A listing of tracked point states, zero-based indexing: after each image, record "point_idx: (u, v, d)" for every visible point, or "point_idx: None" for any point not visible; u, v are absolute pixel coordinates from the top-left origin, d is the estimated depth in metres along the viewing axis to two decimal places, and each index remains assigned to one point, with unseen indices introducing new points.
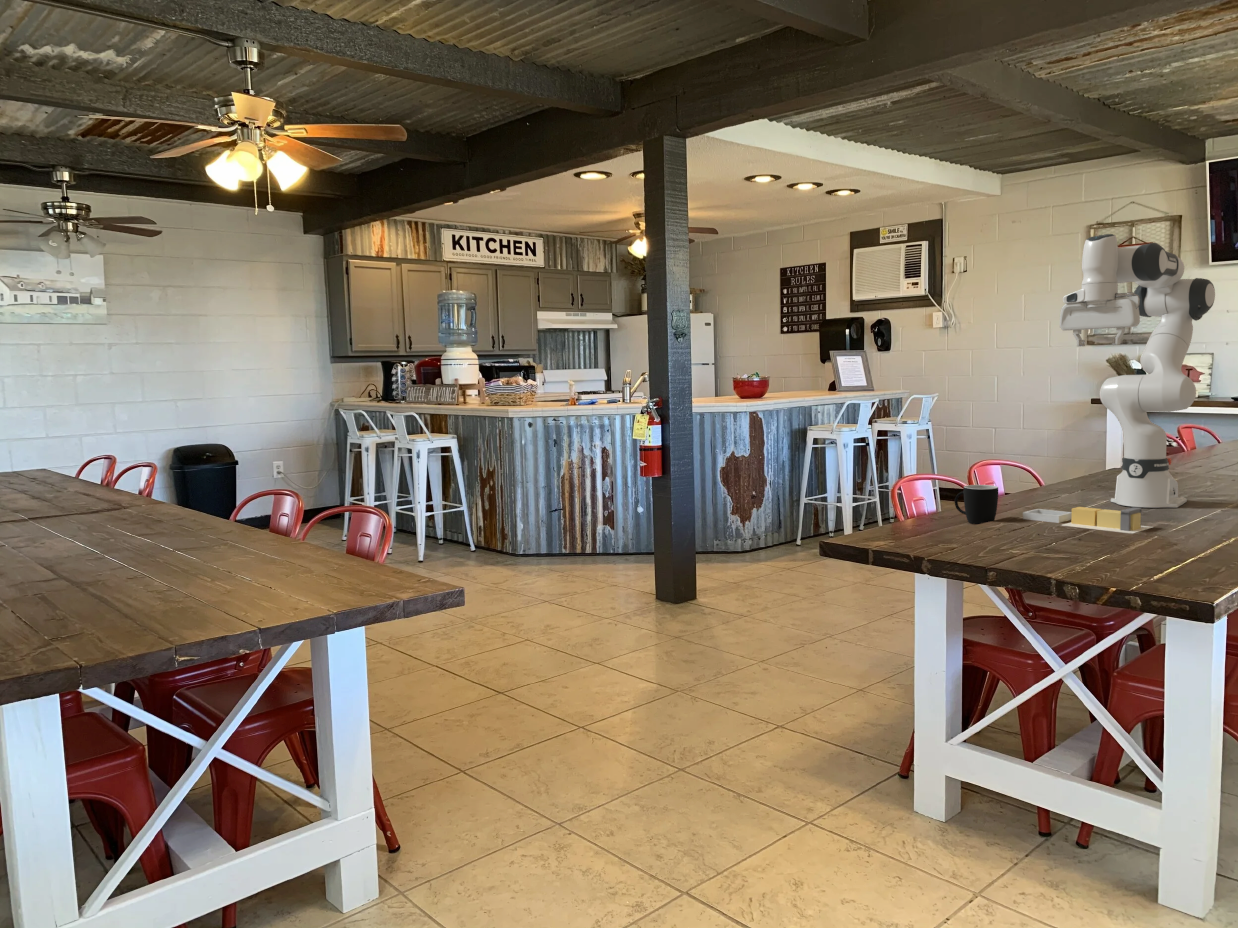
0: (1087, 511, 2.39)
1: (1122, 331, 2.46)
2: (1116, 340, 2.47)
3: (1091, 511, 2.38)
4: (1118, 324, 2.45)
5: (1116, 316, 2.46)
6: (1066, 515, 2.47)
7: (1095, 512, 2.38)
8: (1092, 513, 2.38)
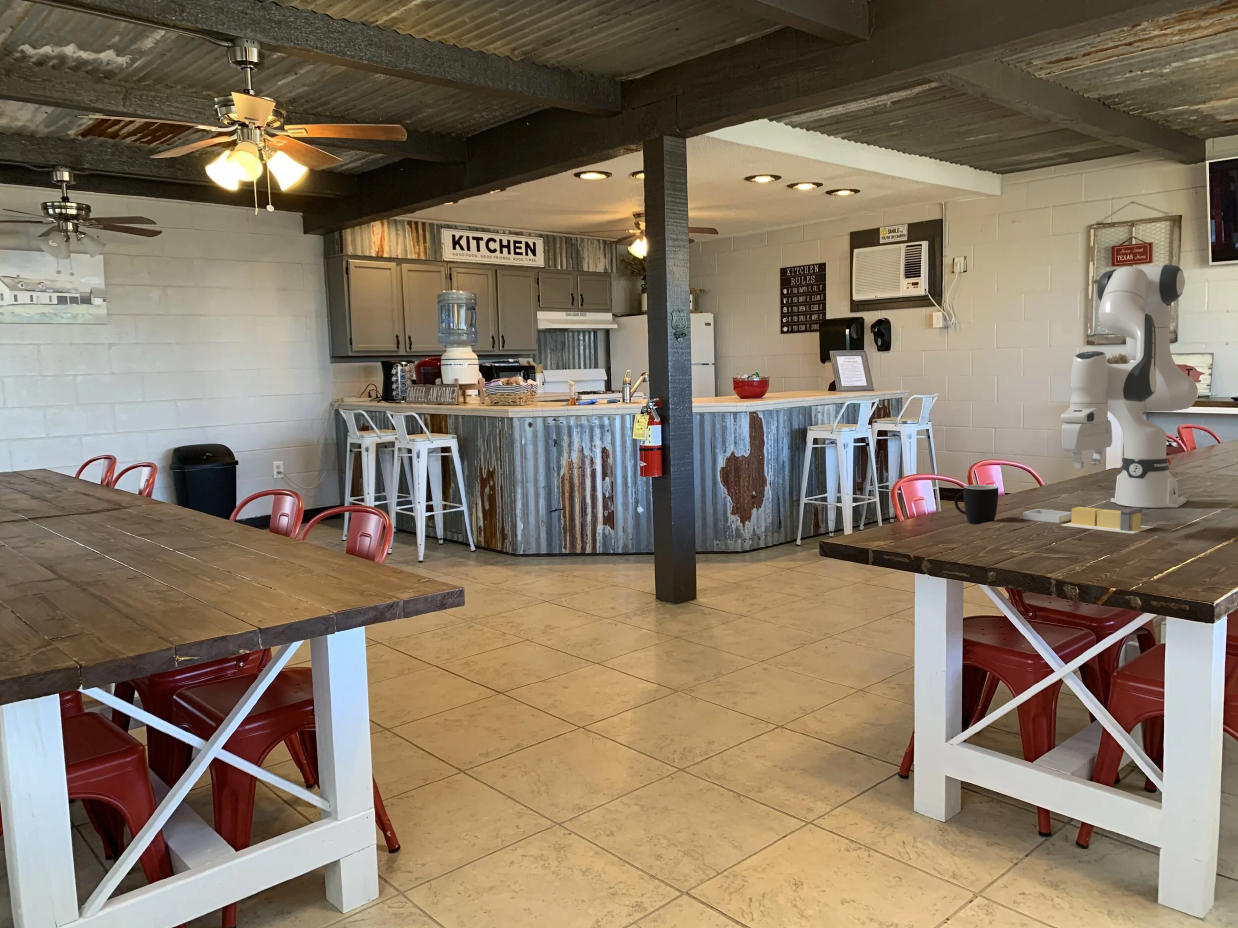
0: (1087, 511, 2.39)
1: None
2: (1100, 460, 2.42)
3: (1091, 511, 2.38)
4: (1105, 444, 2.42)
5: (1104, 436, 2.41)
6: (1066, 515, 2.47)
7: (1095, 512, 2.38)
8: (1092, 513, 2.38)
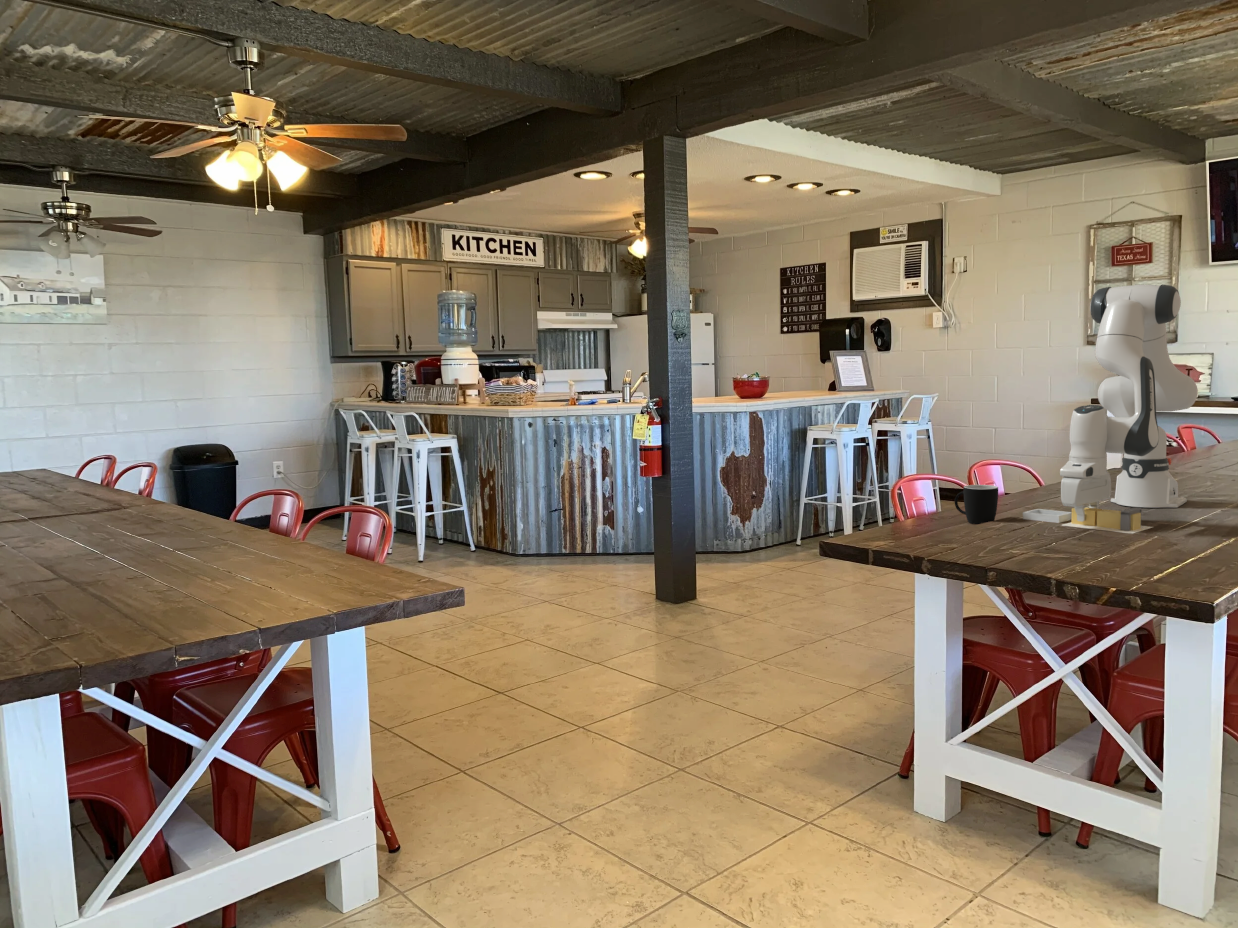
0: (1087, 511, 2.39)
1: None
2: None
3: (1091, 511, 2.38)
4: (1104, 496, 2.43)
5: (1103, 489, 2.42)
6: (1066, 515, 2.47)
7: (1095, 512, 2.38)
8: (1092, 513, 2.38)
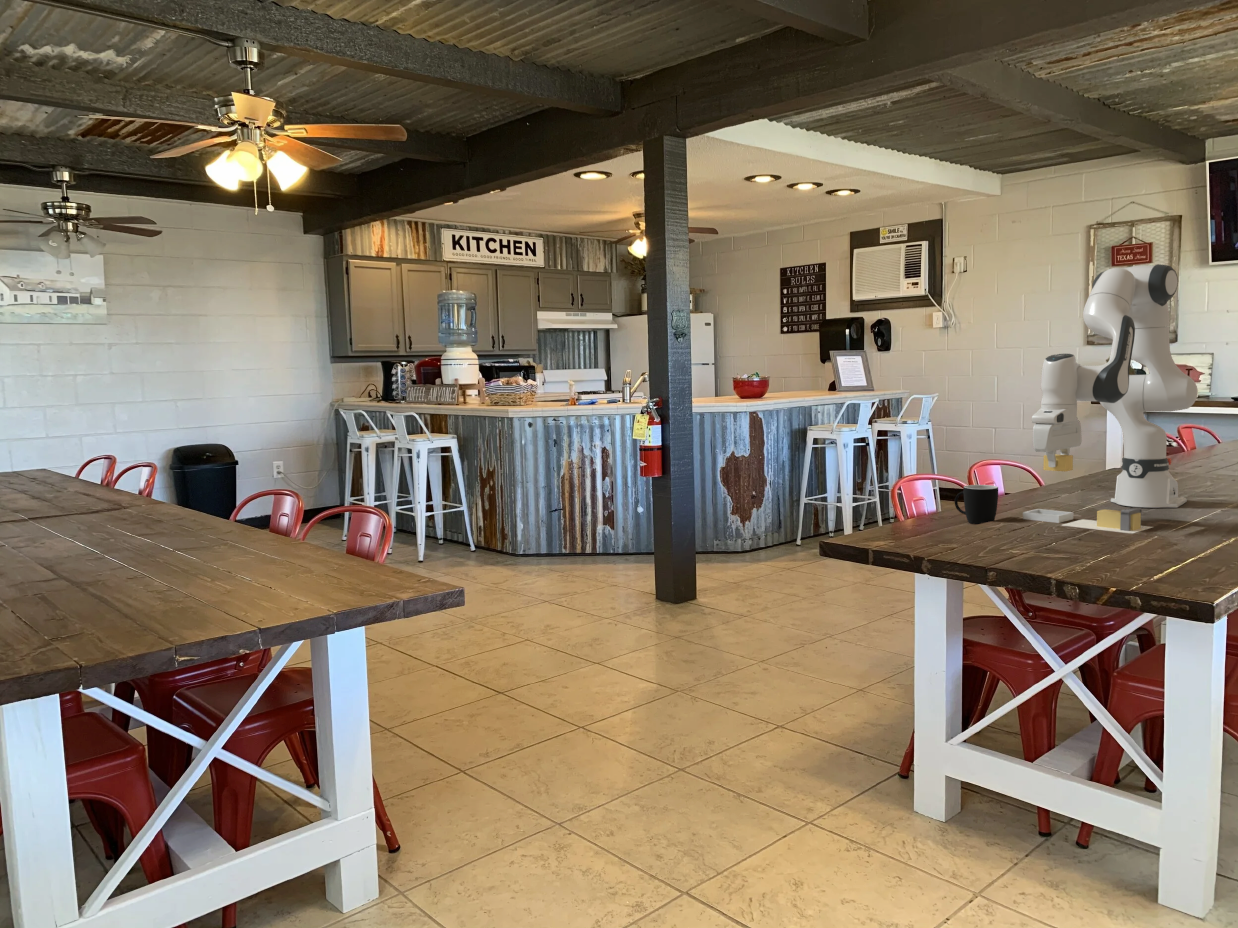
0: (1058, 457, 2.45)
1: None
2: None
3: (1062, 457, 2.44)
4: (1075, 443, 2.49)
5: (1074, 436, 2.48)
6: (1066, 515, 2.47)
7: (1066, 458, 2.44)
8: (1063, 459, 2.44)
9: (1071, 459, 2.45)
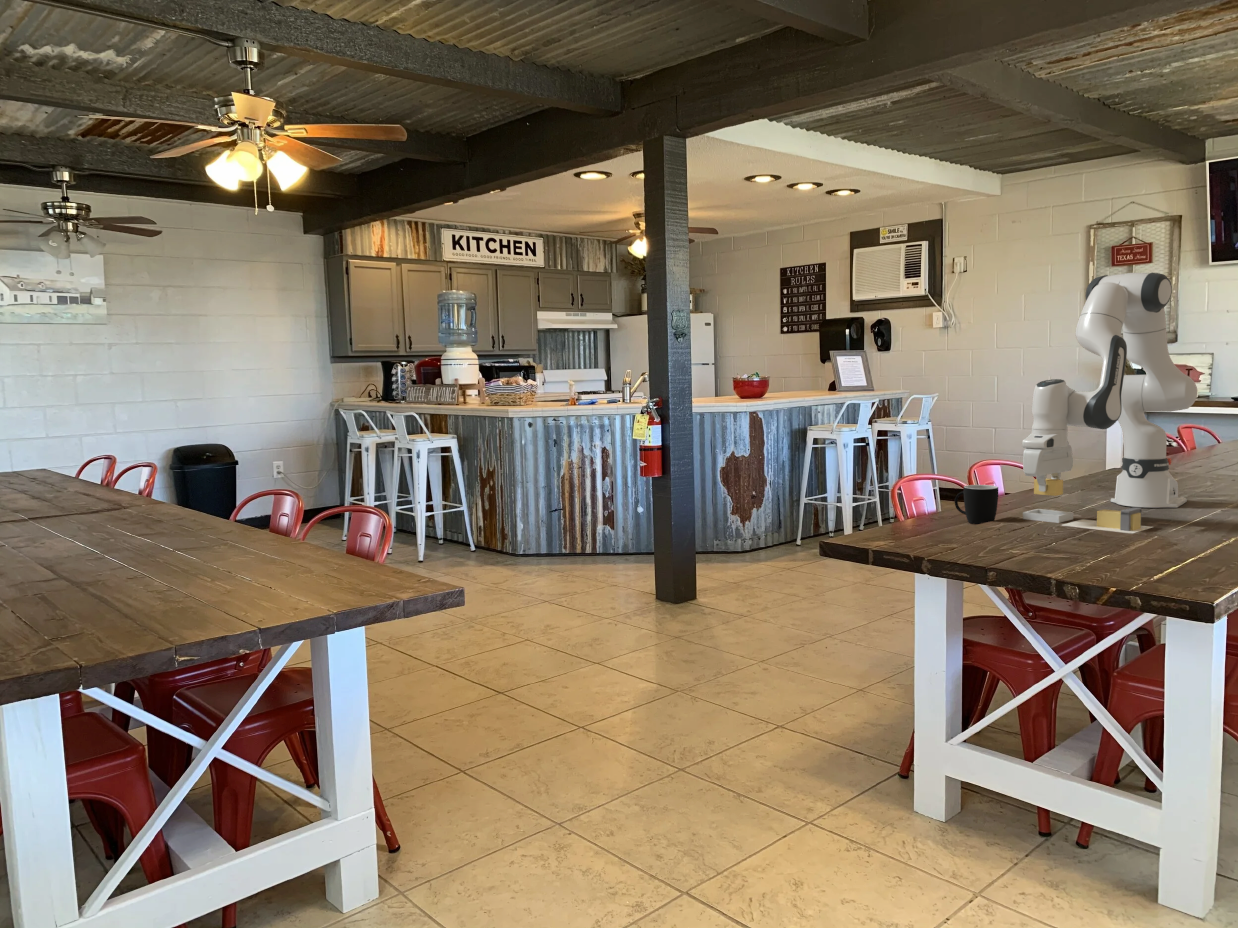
0: (1049, 481, 2.47)
1: None
2: None
3: (1052, 481, 2.47)
4: (1066, 468, 2.51)
5: (1065, 461, 2.51)
6: (1066, 515, 2.47)
7: (1056, 482, 2.46)
8: (1053, 483, 2.46)
9: (1061, 483, 2.48)
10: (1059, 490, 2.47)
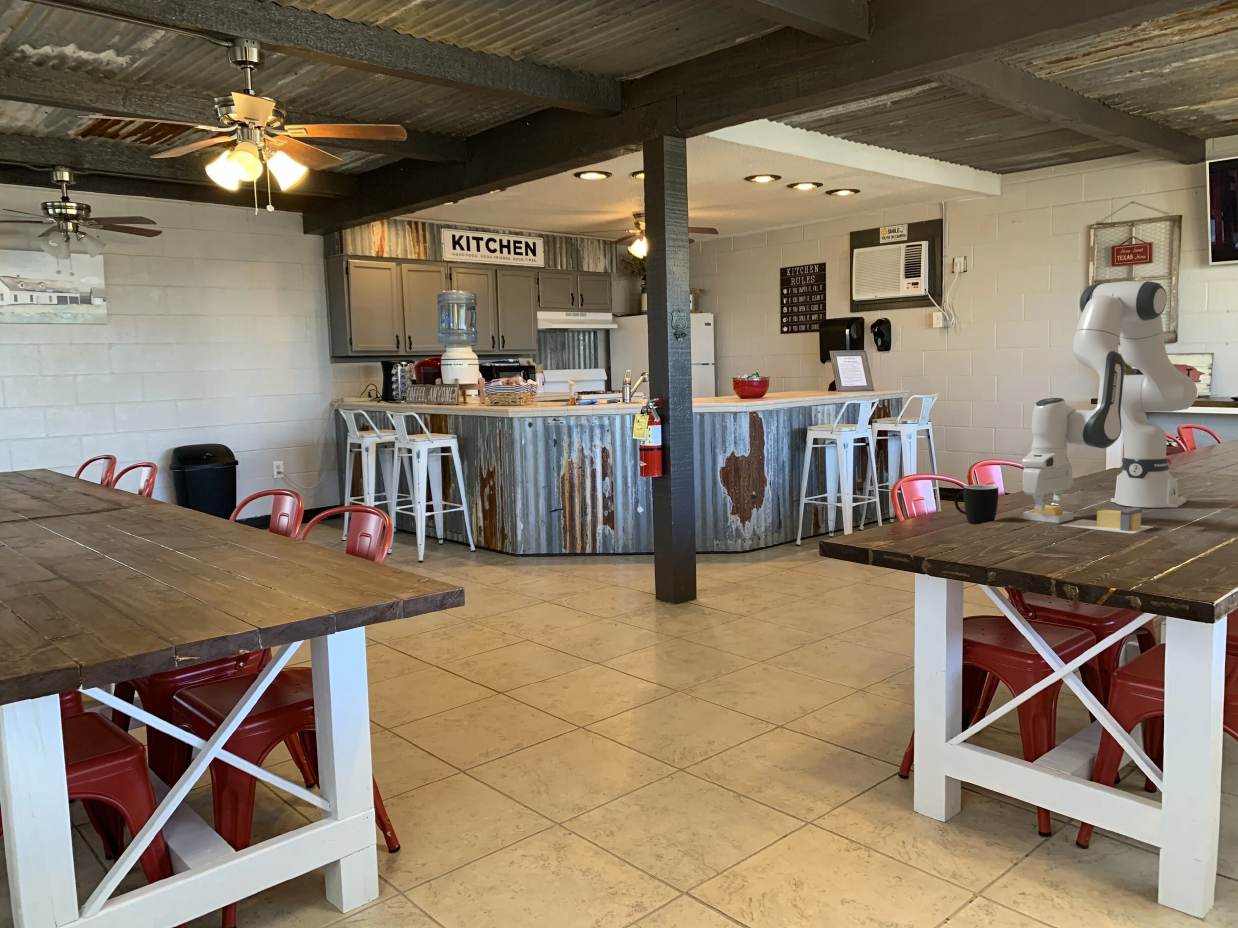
0: (1048, 509, 2.48)
1: None
2: (1060, 502, 2.53)
3: (1052, 509, 2.48)
4: (1065, 486, 2.52)
5: (1064, 479, 2.52)
6: (1066, 515, 2.47)
7: (1056, 510, 2.47)
8: (1053, 510, 2.47)
9: (1061, 510, 2.49)
10: None
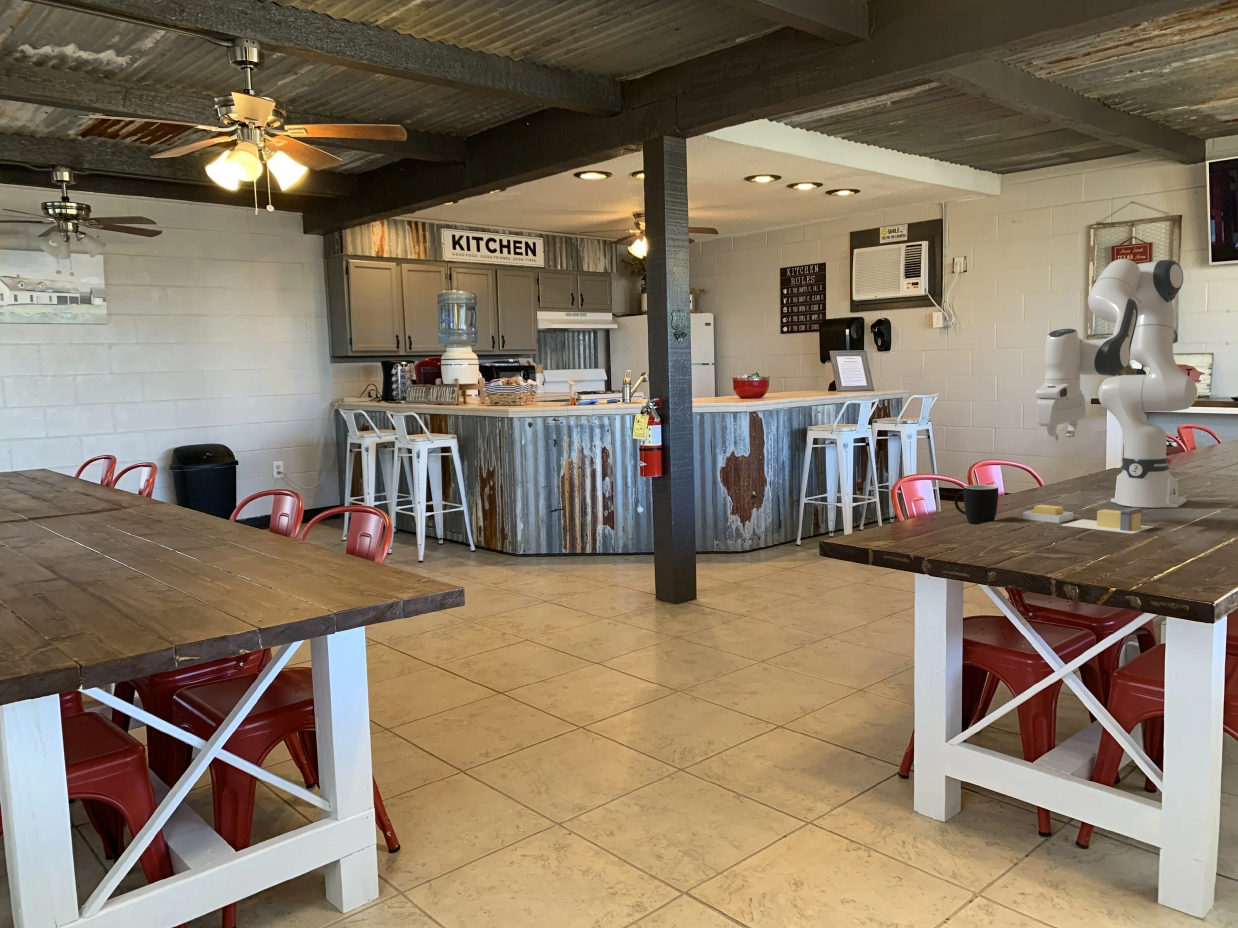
0: (1048, 509, 2.48)
1: None
2: (1074, 432, 2.55)
3: (1052, 509, 2.48)
4: (1079, 417, 2.54)
5: (1078, 409, 2.53)
6: (1066, 515, 2.47)
7: (1056, 510, 2.47)
8: (1053, 510, 2.47)
9: (1061, 510, 2.49)
10: None
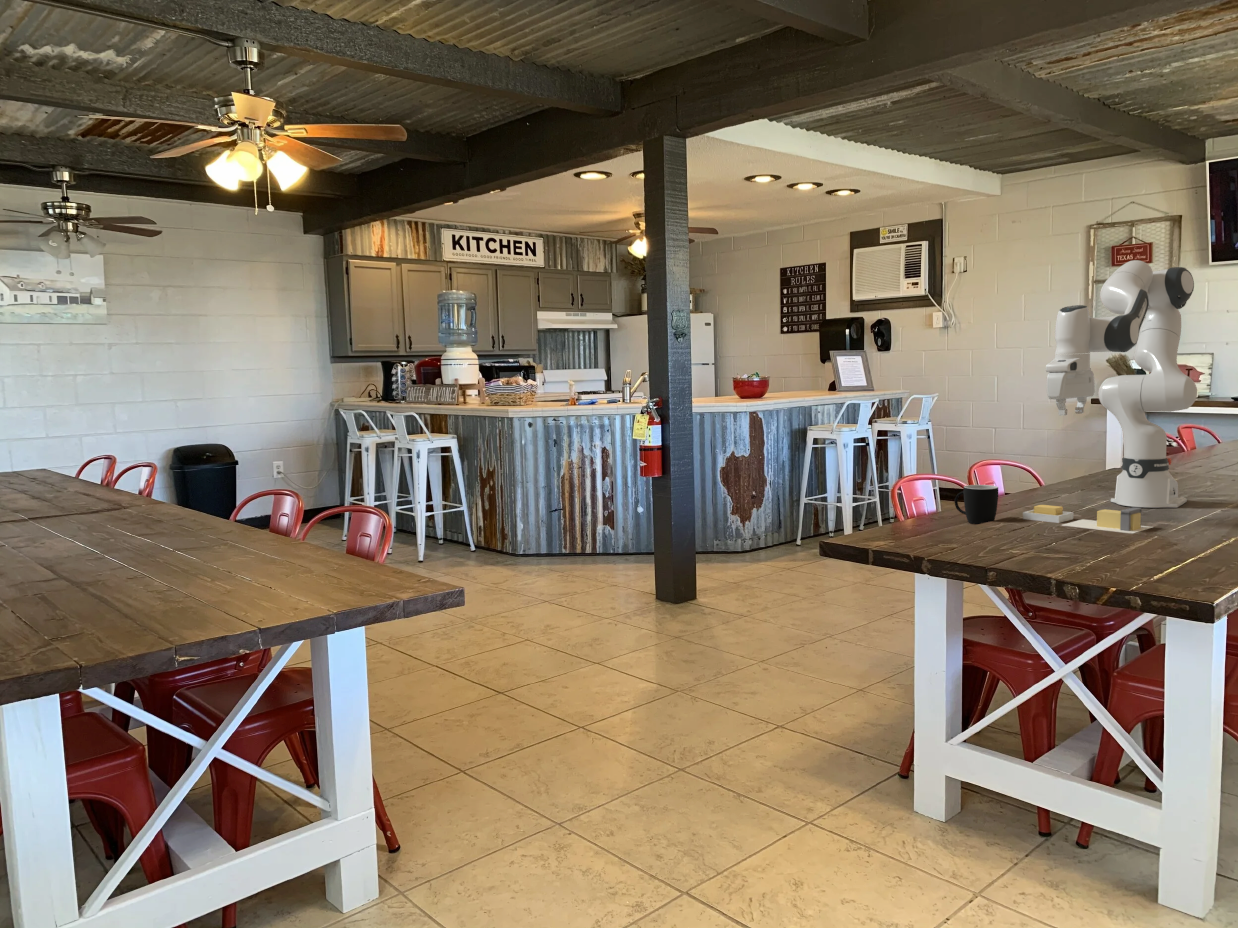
0: (1048, 509, 2.48)
1: None
2: (1083, 409, 2.57)
3: (1052, 509, 2.48)
4: (1088, 393, 2.57)
5: (1087, 386, 2.56)
6: (1066, 515, 2.47)
7: (1056, 510, 2.47)
8: (1053, 510, 2.47)
9: (1061, 510, 2.49)
10: None
